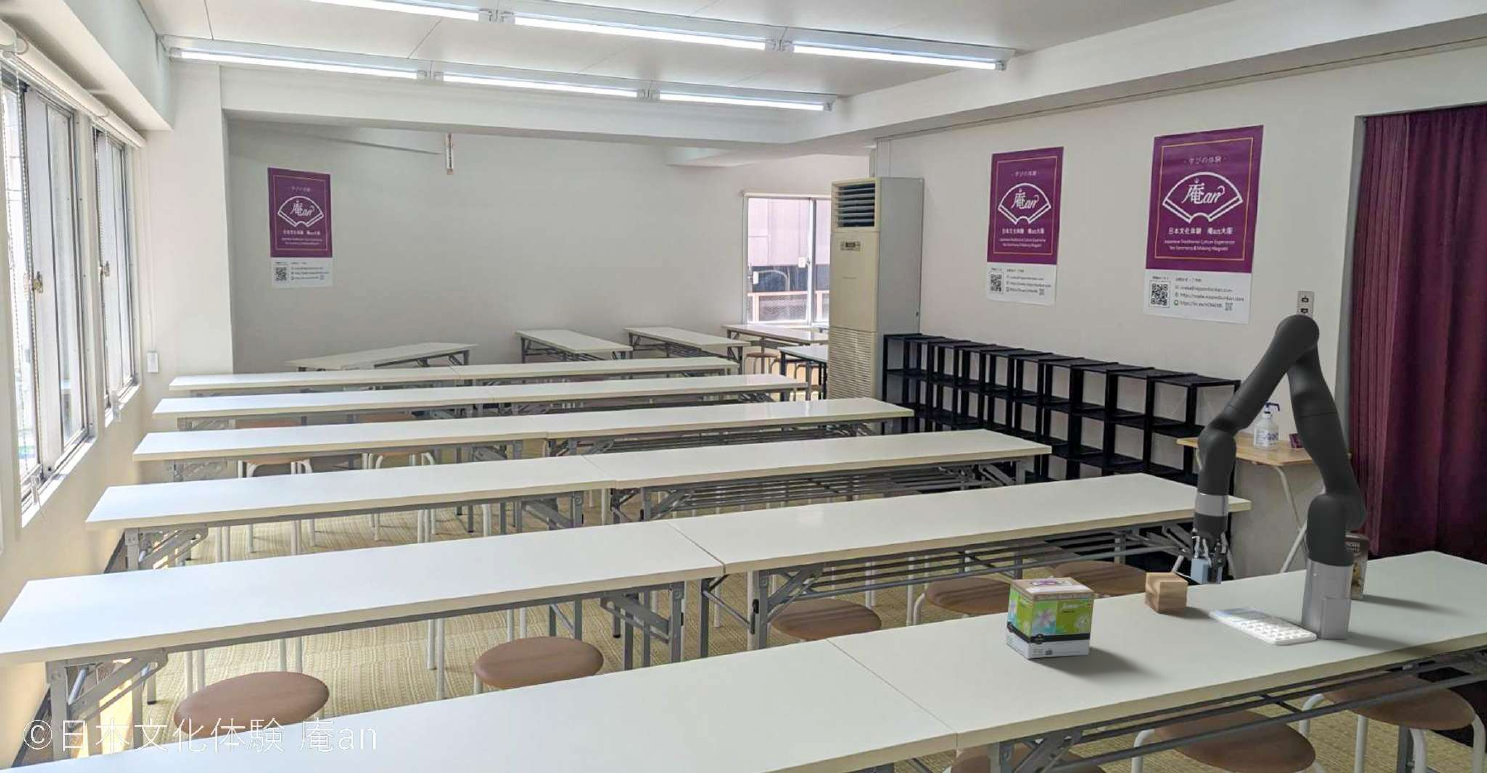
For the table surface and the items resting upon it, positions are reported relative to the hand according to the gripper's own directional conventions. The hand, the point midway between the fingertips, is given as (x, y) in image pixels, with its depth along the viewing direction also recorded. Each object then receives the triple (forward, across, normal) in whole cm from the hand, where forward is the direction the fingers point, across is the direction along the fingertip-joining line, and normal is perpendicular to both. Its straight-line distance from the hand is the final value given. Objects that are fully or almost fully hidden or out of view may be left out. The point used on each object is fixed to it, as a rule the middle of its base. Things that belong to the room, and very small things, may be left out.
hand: (1205, 578), depth 253 cm
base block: (+8, +1, +9) cm, 12 cm away
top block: (+4, +1, +9) cm, 10 cm away
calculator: (+9, -12, -8) cm, 17 cm away
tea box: (+8, -24, +50) cm, 56 cm away
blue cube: (+1, 0, 0) cm, 1 cm away
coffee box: (+8, +11, -44) cm, 46 cm away
